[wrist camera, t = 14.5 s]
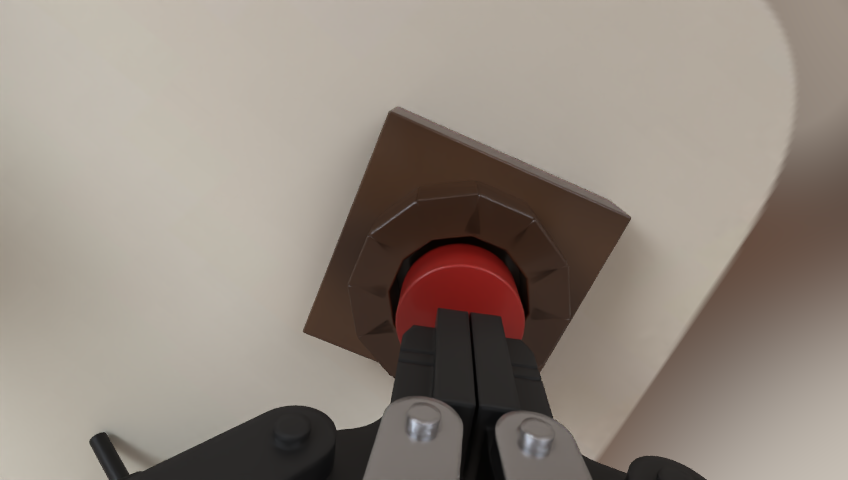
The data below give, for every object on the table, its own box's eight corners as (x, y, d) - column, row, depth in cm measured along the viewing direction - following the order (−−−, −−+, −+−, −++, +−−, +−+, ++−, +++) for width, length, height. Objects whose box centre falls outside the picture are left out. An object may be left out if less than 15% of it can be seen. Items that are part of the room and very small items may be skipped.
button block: (396, 105, 17) (381, 114, 13) (610, 200, 17) (656, 235, 13) (317, 304, 19) (285, 361, 15) (507, 381, 20) (521, 453, 16)
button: (428, 224, 14) (426, 244, 12) (537, 270, 14) (548, 295, 13) (384, 322, 15) (376, 353, 13) (486, 363, 15) (490, 398, 14)
